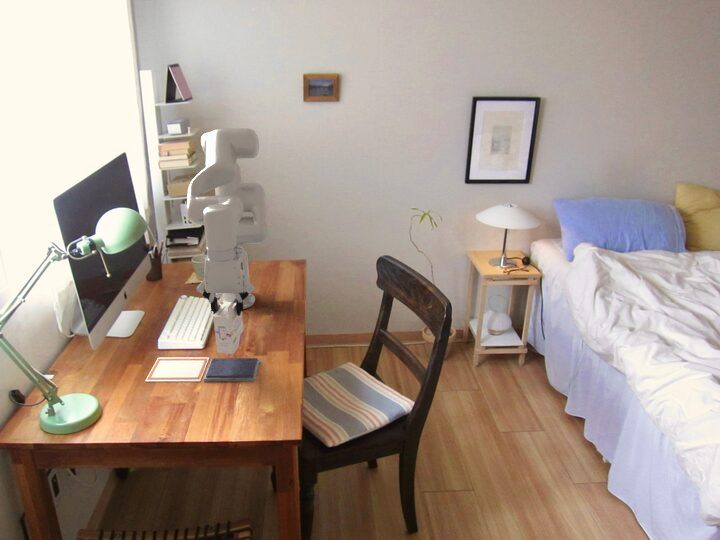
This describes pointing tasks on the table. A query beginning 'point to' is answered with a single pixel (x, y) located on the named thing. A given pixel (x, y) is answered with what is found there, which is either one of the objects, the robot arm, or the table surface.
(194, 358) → the print sheet
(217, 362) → the ink pad
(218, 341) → the ink cartridge box
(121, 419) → the table surface
